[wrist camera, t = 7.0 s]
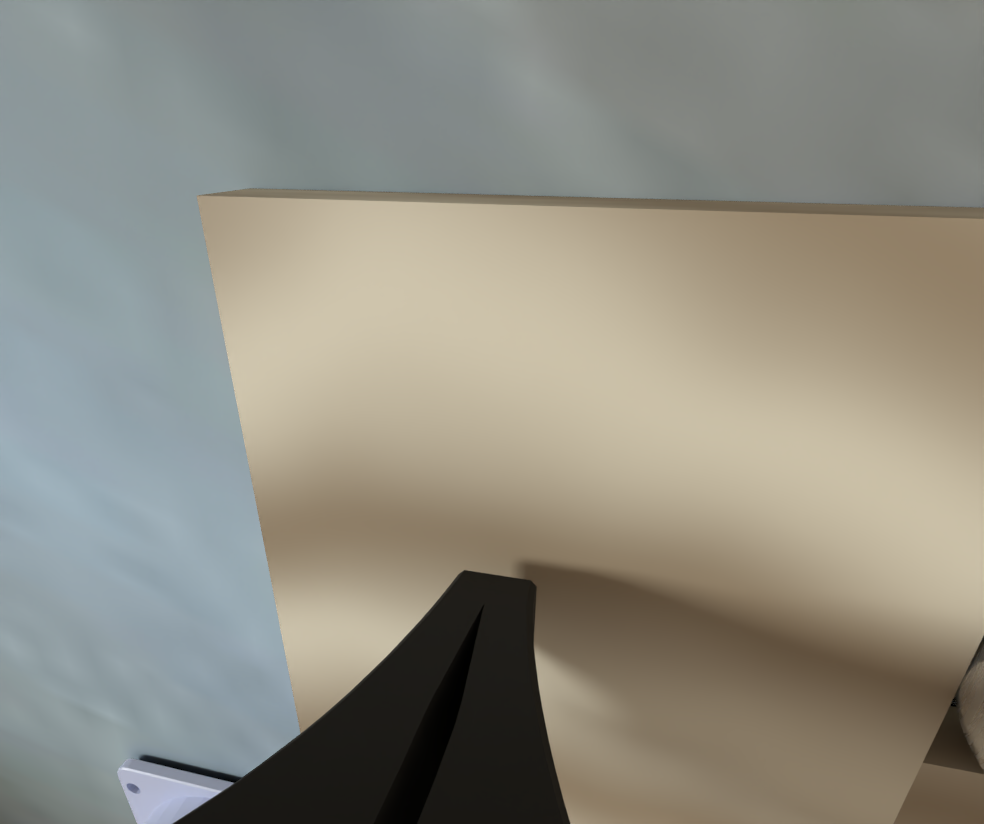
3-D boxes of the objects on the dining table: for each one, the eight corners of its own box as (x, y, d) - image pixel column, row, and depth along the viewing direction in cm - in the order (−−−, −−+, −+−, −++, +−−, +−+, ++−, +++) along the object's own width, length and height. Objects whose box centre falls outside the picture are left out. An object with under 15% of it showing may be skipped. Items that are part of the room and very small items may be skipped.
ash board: (1287, 913, 13) (1364, 1004, 11) (332, 713, 17) (306, 762, 15) (2000, 234, 7) (2343, 259, 5) (250, 188, 11) (197, 196, 10)
